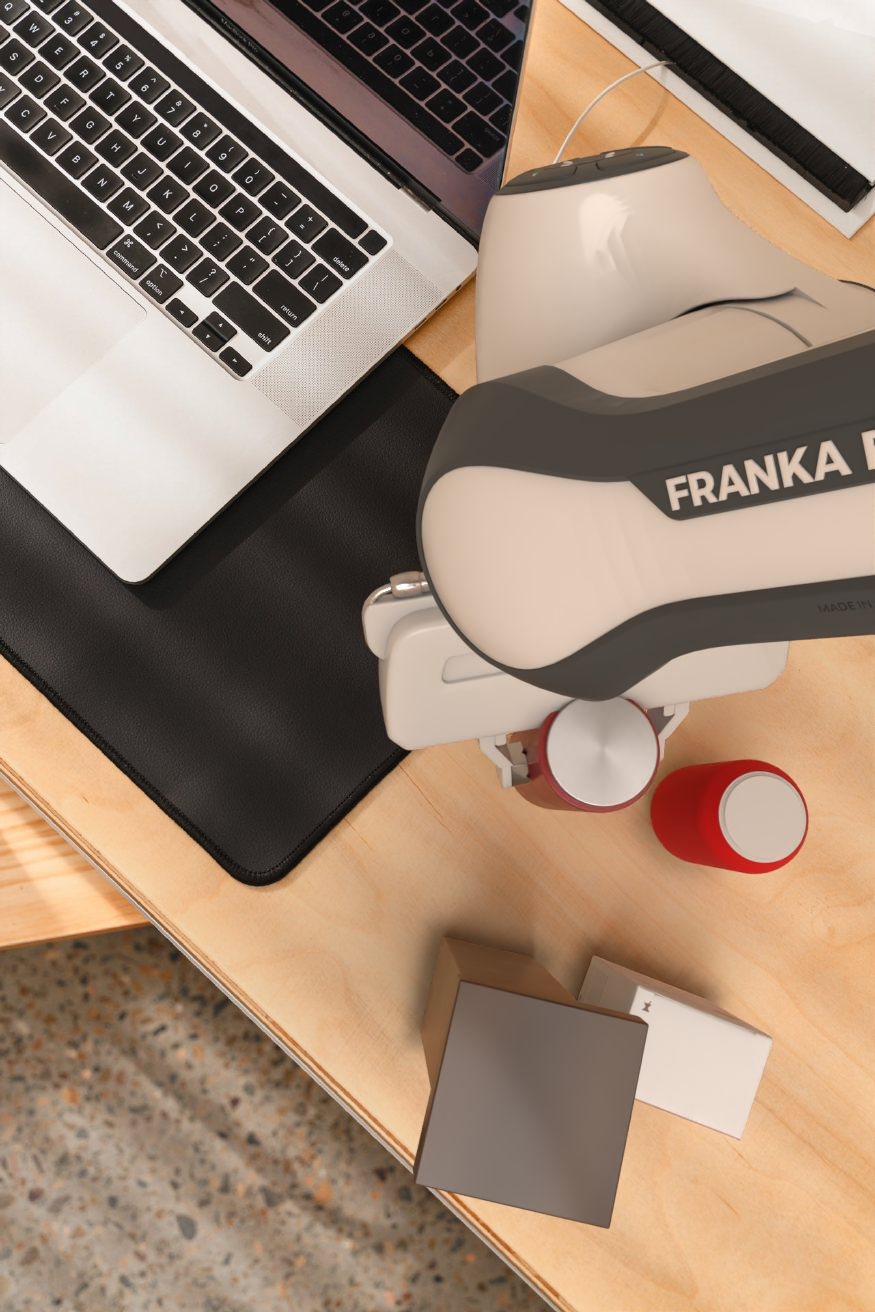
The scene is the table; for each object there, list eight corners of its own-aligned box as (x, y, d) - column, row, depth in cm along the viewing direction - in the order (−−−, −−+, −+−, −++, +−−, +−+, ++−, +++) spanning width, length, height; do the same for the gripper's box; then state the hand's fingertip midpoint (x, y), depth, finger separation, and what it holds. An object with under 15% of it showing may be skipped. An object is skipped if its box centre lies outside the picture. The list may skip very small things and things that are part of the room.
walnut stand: (553, 945, 62) (649, 1024, 40) (526, 1075, 60) (609, 1230, 39) (430, 916, 61) (459, 979, 40) (400, 1046, 60) (413, 1185, 38)
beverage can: (671, 878, 63) (739, 896, 51) (629, 789, 63) (687, 786, 51) (754, 838, 63) (841, 847, 51) (712, 750, 64) (788, 739, 52)
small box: (561, 1038, 61) (599, 1088, 50) (592, 952, 62) (635, 983, 51) (680, 1086, 61) (743, 1145, 50) (709, 999, 62) (777, 1039, 51)
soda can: (612, 723, 60) (675, 703, 47) (592, 820, 59) (650, 826, 46) (517, 700, 59) (555, 674, 47) (495, 796, 59) (528, 796, 46)
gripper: (363, 621, 41) (397, 844, 49) (827, 546, 43) (783, 774, 51) (349, 546, 46) (382, 760, 54) (764, 481, 48) (734, 698, 56)
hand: (579, 766), depth 53 cm, fingers closed on soda can, 6 cm apart
